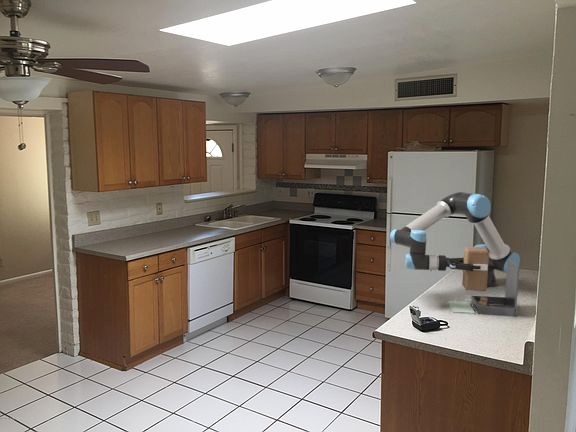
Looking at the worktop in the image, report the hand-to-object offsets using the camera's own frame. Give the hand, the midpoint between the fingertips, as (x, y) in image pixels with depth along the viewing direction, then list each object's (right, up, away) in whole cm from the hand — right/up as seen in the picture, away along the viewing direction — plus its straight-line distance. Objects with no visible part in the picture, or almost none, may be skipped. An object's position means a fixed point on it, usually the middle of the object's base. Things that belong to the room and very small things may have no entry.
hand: (484, 264), depth 243 cm
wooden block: (-4, -12, +2) cm, 13 cm away
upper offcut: (+1, -20, +3) cm, 21 cm away
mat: (-10, -22, +5) cm, 25 cm away
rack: (+5, -22, +3) cm, 23 cm away
